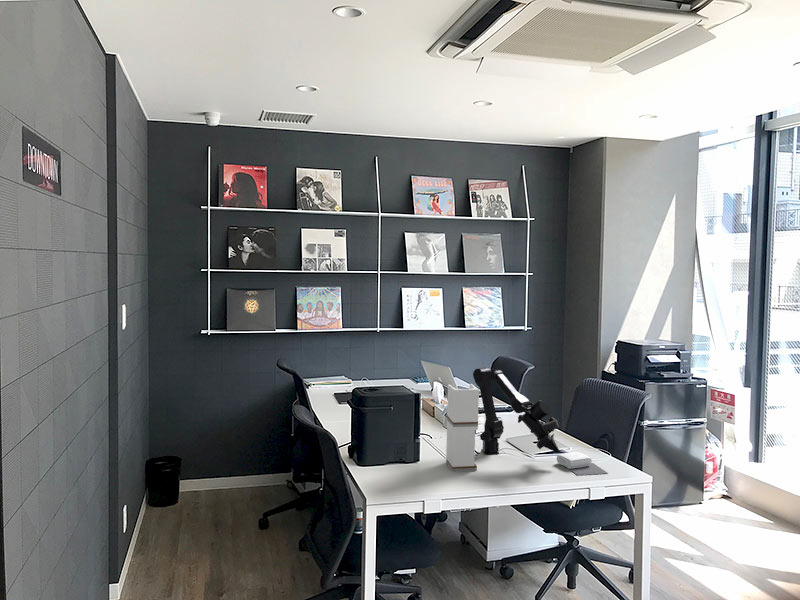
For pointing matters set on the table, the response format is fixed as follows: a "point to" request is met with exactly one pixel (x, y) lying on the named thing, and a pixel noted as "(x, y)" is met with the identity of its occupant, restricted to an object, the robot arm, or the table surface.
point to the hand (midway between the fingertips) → (558, 452)
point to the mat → (588, 470)
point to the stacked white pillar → (462, 428)
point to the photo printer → (573, 460)
